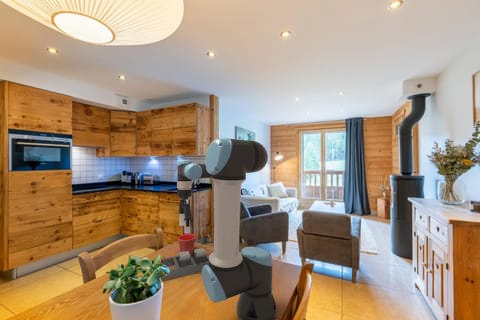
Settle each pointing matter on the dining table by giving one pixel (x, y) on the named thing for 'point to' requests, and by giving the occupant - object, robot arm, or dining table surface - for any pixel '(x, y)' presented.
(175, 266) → the grey compartment tray
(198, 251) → the seated nut
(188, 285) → the dining table surface
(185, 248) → the flower pot
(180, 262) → the block
